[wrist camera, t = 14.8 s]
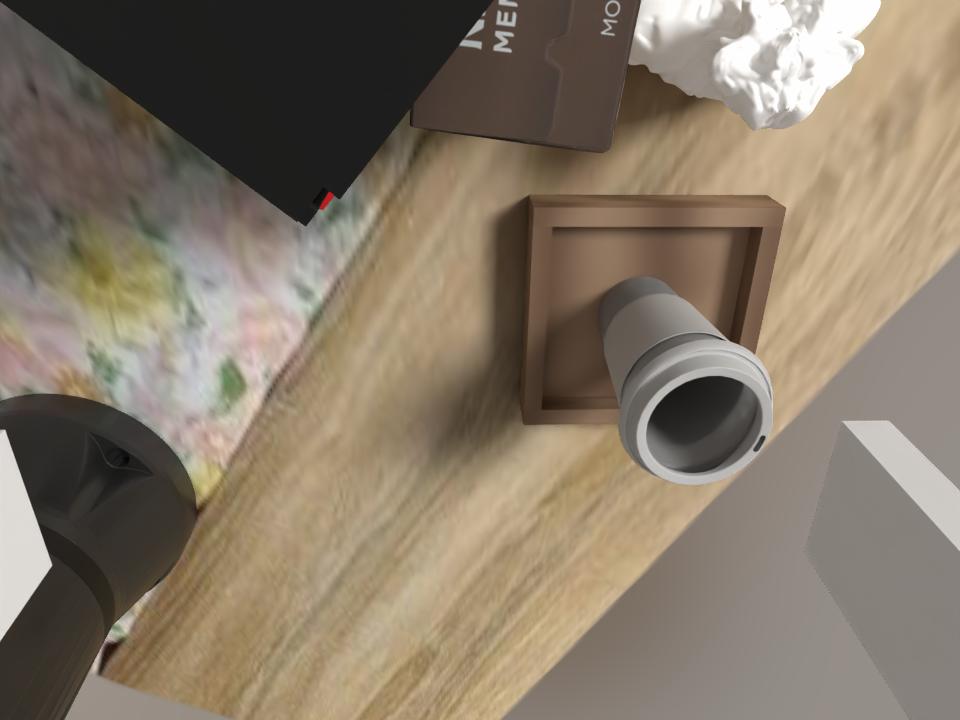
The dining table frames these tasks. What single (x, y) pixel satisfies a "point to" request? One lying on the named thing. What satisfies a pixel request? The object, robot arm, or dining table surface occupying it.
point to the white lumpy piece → (753, 51)
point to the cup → (681, 386)
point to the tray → (626, 254)
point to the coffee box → (536, 74)
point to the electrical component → (268, 77)
